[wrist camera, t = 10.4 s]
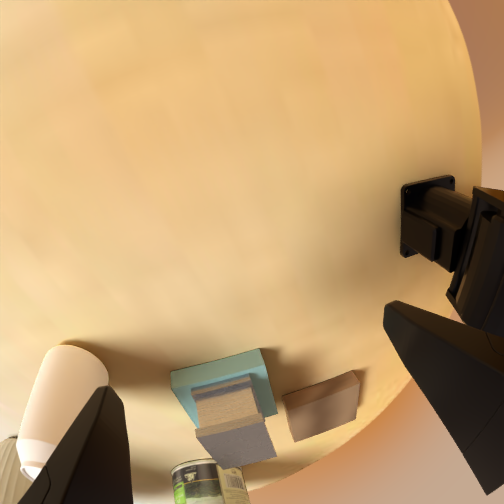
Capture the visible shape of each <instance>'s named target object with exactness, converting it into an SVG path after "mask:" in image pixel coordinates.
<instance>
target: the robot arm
mask: <svg viewBox="0 0 504 504" xmlns="http://www.w3.org/2000/svg"><path fill="white" fill-rule="evenodd" d="M407 189H408V191H407ZM406 191H407V193H406ZM472 194H473V198H469V197H467V196H465V195H462V194H460V193H458V192H455V178H454V177H453V176H451V175H446V176H441V177H436V178H432V179H427V180H423V181H418V182H414V183H409V184H405V185H403V187H402V188H401V246H400V254H401V255H402V256H403V257H404V258H407V257H410V256H412V255H415V254H418V253H420V254H421V255H422V256H424V257H425V258H427V259H428V260H430V261H431V262H433V261H434V262H436V263H437V264H439V265H440V266H441V267H443V268H444V269H446V270H447V271H448V272H450V273H451V272H453V271H454V275H453V278H452V281H451V284H450V287H449V288H448V290H447V293H446V296H447V298H448V299H449V301H450V302H451V304H452V305H453V307H454V308H455V310H456V311H457V313H458V314H459V316H460V318H461V320H462V322H463V323H464V324H462V323H459V322H457V321H454V320H451V319H448V318H445V317H443V316H440V315H437V314H434V313H431V312H429V311H426V310H423V309H420V308H417V307H414V306H412V305H409V304H406V303H403V302H400V301H397V300H395V301H392V302H390V303H388V304H386V305H385V307H384V318H383V327H384V330H385V331H386V333H387V335H388V337H389V339H390V340H391V342H392V344H393V346H394V348H395V349H396V351H397V353H398V355H399V357H400V359H401V360H402V362H403V364H404V365H405V367H406V369H407V370H408V371H409V373H410V374H411V376H412V377H413V379H414V380H415V382H416V383H417V384H418V386H419V387H420V389H421V390H422V392H423V393H424V394H425V396H426V398H427V399H428V401H429V402H430V404H431V405H432V407H433V408H434V410H435V411H436V413H437V414H438V416H439V418H440V419H441V421H442V422H443V424H444V425H445V427H446V428H447V430H448V432H449V433H450V435H451V436H452V438H453V439H454V441H455V443H456V444H457V446H458V448H459V449H460V451H461V452H462V453H463V456H464V458H465V459H466V461H467V463H468V464H469V466H470V468H471V469H472V471H473V473H474V474H475V476H476V478H477V480H478V481H479V483H480V485H481V487H482V489H483V490H484V492H485V493H486V495H489V494H490V493H491V492H493V491H495V490H496V489H497V488H499V487H500V486H502V485H503V484H504V191H503V190H497V189H490V188H483V187H476V186H473V192H472ZM405 252H406V253H405ZM17 504H133V495H132V484H131V470H130V452H129V442H128V435H127V428H126V420H125V412H124V405H123V402H122V400H121V399H120V398H119V396H118V395H117V394H116V393H115V391H114V390H113V389H112V387H110V386H109V385H106V386H100V387H98V388H97V389H96V390H95V391H94V393H93V394H92V396H91V397H90V398H89V400H88V401H87V403H86V404H85V405H84V407H83V408H82V410H81V411H80V413H79V414H78V416H77V417H76V418H75V420H74V421H73V423H72V424H71V426H70V427H69V429H68V430H67V432H66V433H65V435H64V436H63V438H62V439H61V441H60V442H59V444H58V445H57V447H56V448H55V450H54V451H53V453H52V454H51V456H50V457H49V459H48V460H47V462H46V465H44V466H43V468H42V470H41V471H40V473H39V474H38V476H37V477H36V479H35V480H34V482H33V483H32V485H31V486H30V487H29V489H28V490H27V491H26V493H25V494H24V495H23V497H22V498H21V499H20V500H19V502H18V503H17Z"/></svg>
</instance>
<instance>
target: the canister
mask: <svg viewBox="0 0 504 504" xmlns="http://www.w3.org/2000/svg"><path fill="white" fill-rule="evenodd" d="M16 442H17V439H16V438H14V439H13V438H10V439H6V440H4V441H2V442H1V443H0V504H17V503H18V502H19V500H20V499H21V498H22V497H23V495H24V494H25V493H26V491H27V490H28V489H29V487H30V486H31V485H32V483H33V482H32V481H30V480H29V479H28V478H26V477H25V476H24V475H23V474H22V472H21V470H20V468H21V462H20V458H19V455H18V451H17V447H16Z"/></svg>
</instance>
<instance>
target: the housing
mask: <svg viewBox="0 0 504 504" xmlns="http://www.w3.org/2000/svg"><path fill="white" fill-rule="evenodd" d="M191 396H192V398H193V399H194V401H195V402H196V406H197V414H198V421H199V428H198V429H195V431H196V438H197V439H198V440H199V442H200V443H201V444H202V445H203V447H204V448H205V449H206V450H207V452H208V453H209V454H210V455H211V457H212V458H213V459H214V460H215V461H216V462H217V464H218V465H219V466H220V467H221V468H222V469H223V470H225V469H230V468H234V467H239V466H243V465H247V464H251V463H255V462H259V461H262V460H266V459H270V458H273V457H277V455H276V452H275V449H274V446H273V444H272V441H271V438H270V436H269V433H268V431H267V428H266V425H265V423H264V422H265V418H264V415H263V412H262V410H261V407H260V404H259V401H258V398H257V396H256V393H255V390H254V387H253V384H252V381H251V378H250V376H249V373H247V374H243V375H240V376H236V377H233V378H229V379H225V380H222V381H218V382H214V383H210V384H206V385H202V386H198V387H194V388H191Z"/></svg>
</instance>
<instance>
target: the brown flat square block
mask: <svg viewBox="0 0 504 504" xmlns="http://www.w3.org/2000/svg"><path fill="white" fill-rule="evenodd" d="M359 389H360V382H359V381H358V379H357V377H356V376H355V374H354V373H353V371H350V372H347V373H345V374H342V375H340V376H337V377H335V378H332V379H330V380H327V381H324V382H322V383H319V384H316V385H313V386H311V387H308V388H305V389H302V390H299V391H296V392H293V393H290V394H287V395H284V396H282V398H283V402H284V407H285V411H286V415H287V420H288V424H289V428H290V432H291V434H292V437H293V439H294V442H298V441H301V440H303V439H306V438H309V437H312V436H315V435H318V434H320V433H323V432H326V431H328V430H331V429H333V428H336V427H338V426H341V425H343V424H346V423H348V422H350V421H353V420H355V419H356V413H357V406H358V398H359Z"/></svg>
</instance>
